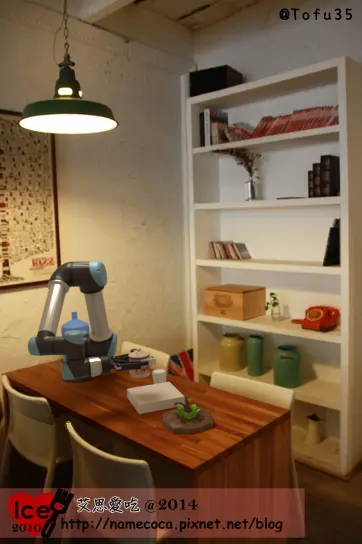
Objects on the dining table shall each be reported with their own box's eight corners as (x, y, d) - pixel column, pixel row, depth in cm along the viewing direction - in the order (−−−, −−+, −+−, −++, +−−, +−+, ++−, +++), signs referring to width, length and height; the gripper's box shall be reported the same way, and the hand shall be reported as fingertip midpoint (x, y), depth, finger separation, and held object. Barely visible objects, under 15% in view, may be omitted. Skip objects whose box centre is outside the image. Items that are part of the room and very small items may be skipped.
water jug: (57, 361, 272) (54, 313, 269) (80, 354, 284) (76, 308, 281) (74, 366, 262) (71, 316, 259) (97, 358, 274) (93, 311, 271)
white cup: (169, 383, 230) (168, 369, 229) (164, 388, 223) (163, 373, 222) (155, 382, 232) (155, 368, 231) (150, 387, 225) (149, 372, 225)
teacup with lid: (136, 380, 197) (134, 352, 195) (125, 374, 204) (123, 348, 203) (160, 373, 204) (159, 347, 202) (149, 368, 211) (148, 342, 210)
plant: (170, 438, 174) (169, 409, 172) (157, 417, 192) (155, 390, 191) (221, 429, 180) (220, 400, 178) (203, 409, 198) (202, 383, 197)
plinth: (127, 397, 214) (126, 388, 213) (169, 389, 221) (168, 381, 220) (139, 414, 195) (138, 404, 195) (184, 405, 202) (184, 396, 202)
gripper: (96, 367, 207) (146, 359, 215) (105, 382, 187) (160, 374, 194) (95, 350, 207) (145, 343, 214) (104, 364, 186) (159, 356, 194)
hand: (152, 358), depth 204 cm, fingers closed on teacup with lid, 9 cm apart
